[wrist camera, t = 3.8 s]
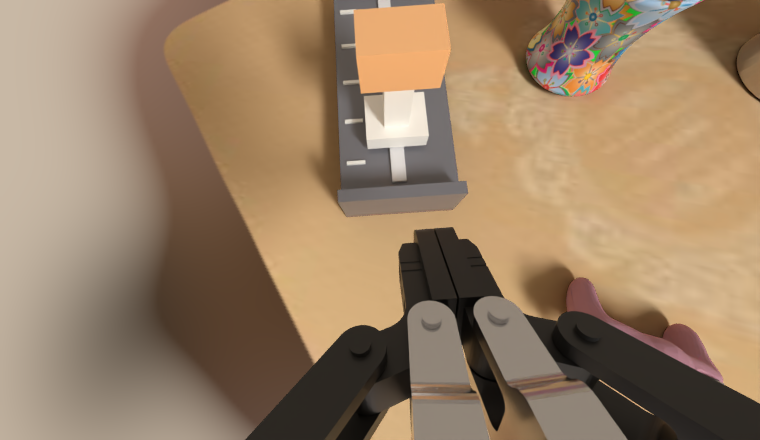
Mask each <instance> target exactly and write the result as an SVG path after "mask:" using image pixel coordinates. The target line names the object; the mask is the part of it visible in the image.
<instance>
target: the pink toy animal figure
mask: <svg viewBox="0 0 760 440" xmlns="http://www.w3.org/2000/svg"><path fill="white" fill-rule="evenodd" d="M566 305H567V312H569V311H578V312H584V313H587V314H590V315H592V316H595V317H597V318H599V319H601V320H602V321H604V322H606V323H608V324H610V325H612V326H614V327H616V328H618V329H619V330H621V331H623V332H625V333H627V334H629V335H631V336H633V337H635V338H636V339H638V340H640V341H642V342H644V343H646V344H648V345H650V346H652V347H653V348H655V349H657V350H659V351H661V352H663V353H665V354H667V355H669V356H670V357H672V358H674V359H676V360H678V361H680V362H682V363H684V364H686V365H688V366H689V367H691V368H693V369H695V370H697V371H699V372H701V373H703V374H705V375H706V376H708V377H710V378H712V379H714V380H716V381H718V382H720V383H722V384H723V385H724V383H723V378H722V376H721V374H720V372H719V371H718V369H717V368H716V367H715V365H714V364H713V363H712V361H711V359H710V358H709V356H708V354H707V351H706V349H705V347H704V345H703V343H702V341H701V340H700V338H699V336H698V335H697V334H696V333H695V332H694V331H693V330H692V329H691V328H689V327H687V326H686V325H682V324H673V325H671V326H669V327H667V329H666V330H665V332H664V334H663V338H659V337H656V336H652V335H648V334H644V333H641V332H639V331H637V330H635V329H633V328H631V327H629V326H628V325H625V324H623V323H621V322H619V321H617V320H615V319H612V318H611V317H609V316H608V315H607V314H606V313H605V311H604V310H603V308H602V306H601V304H600V302H599V299H598V296H597V293H596V290H595V288H594V286H593V284H592V283H591V282H590V281H589V280H588V279H586V278H576V279H575V280H573V281H572V282H571V283H570V285H569V288H568V291H567V296H566Z"/></svg>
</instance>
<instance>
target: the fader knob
mask: <svg viewBox="0 0 760 440" xmlns="http://www.w3.org/2000/svg"><path fill="white" fill-rule="evenodd" d="M354 28H355V45H356V59H357V67H358V75H359V82H360V90H361V94H362V93H376V92H383V95H372V96H364V105H365V122H366V138H367V146H368V149H377V148H391V147H405V146H420V145H426V144H427V140H428V137H429V132H428V123H427V115H426V106H425V97H424V92H414V90H418V89H432V88H440V87H441V83H442V80H443V76H444V72H445V69H446V65H447V62H448V58H449V55H450V51H451V46H450V39H449V32H448V25H447V18H446V11H445V4H444V3H441V4H427V5H413V6H399V7H386V8H372V9H358V10H354Z"/></svg>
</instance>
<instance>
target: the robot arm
mask: <svg viewBox="0 0 760 440" xmlns="http://www.w3.org/2000/svg"><path fill="white" fill-rule="evenodd" d="M737 68H738V73H739V75H740V77H741V79H742V81H743V83H744V84H745V85H746V87H747V88H748V89H749V90H750V91H751V92H752V93H753V94H754V95H755V96H756V97H757V98H759V99H760V33H759V34H757V35H756V36H754V37H753V38H751V39H750V40H748V41H747V42H746V43H745V44H744V45H743V46H742V47H741V49H740V50H739V53H738V56H737ZM399 278H400V288H401V295H402V303H403V311H404V315H403V317H402V318H401V320H400V321H399V322H398V323H396V324H395V325H393V326H391V327H389V328H386V329H384V330H381V331H379V330H377V329H376V328H374V327H371V326H367V325H359V326H355V327H352V328H350V329H348V330H346V331H345V332H344V333H343V334H342V335H341V336H340V337H339V338H338V339H337V340H336V341H335V342H334V343H333V345H332V346H331V347H330V348H329V349H328V350H327V351H326V352H325V353H324V354H323V355H322V357H321V358H320V359H319V360H318V361H317V362H316V363H315V364H314V365H313V366H312V368H311V369H310V370H309V371H308V372H307V373H306V374H305V375H304V376H303V377H302V378H301V380H300V381H299V382H298V383H297V384H296V385H295V386H294V387H293V388H292V389H291V391H290V392H289V393H288V394H287V395H286V396H285V397H284V398H283V399H282V400H281V401H280V402H279V404H278V405H277V406H276V407H275V408H274V409H273V410H272V411H271V412H270V414H268V416H267V417H266V418H265V419H264V420H263V421H262V422H261V423H260V424H259V425H258V426H257V428H256V429H255V430H254V431H253V432H252V433H251V434H250V435H249V436H248V437H247V439H246V440H370V439H371V437H372V435H373V434H374V432H375V431H376V429H377V427H378V426H379V424H380V422H381V421H382V419H383V418H384V416H385V414H386V413H387V411H388V409H389V408H390V407H392V406H394V405H396V404H398V403H400V402H402V401H404V400H406V399H408V398H410V420H411V440H760V404H759V403H757V402H756V401H754V400H752V399H750V398H748V397H746V396H744V395H742V394H740V393H739V392H737V391H735V390H733V389H731V388H729V387H727V386H725V385H723V384H722V383H720V382H718V381H716V380H714V379H712V378H710V377H708V376H706V375H705V374H703V373H701V372H699V371H697V370H695V369H693V368H691V367H689V366H688V365H686V364H684V363H682V362H680V361H678V360H676V359H674V358H672V357H670V356H669V355H667V354H665V353H663V352H661V351H659V350H657V349H655V348H653V347H652V346H650V345H648V344H646V343H644V342H642V341H640V340H638V339H636V338H635V337H633V336H631V335H629V334H627V333H625V332H623V331H621V330H619V329H618V328H616V327H614V326H612V325H610V324H608V323H606V322H604V321H602V320H601V319H599V318H597V317H595V316H592V315H590V314H587V313H584V312H578V311H569V312H565V313H563V314H562V315H561V316H560V317H559V318H558V320H557V321H553V320H548V319H543V318H538V317H533V316H529V315H526V314H524V313H522V311H521V310H520V309H519V308H518V307H517V306H516V305H515V304H514V303H512V302H511V301H509V300H507V299H505V298H504V297H503V295H502V293H501V291H500V289H499V288H498V286H497V284H496V282H495V280H494V278H493V276H492V274H491V272H490V271H489V269H488V267H487V266H486V263H485V261H484V259H483V258H482V255H481V253H480V252H479V250H478V248H477V246H475V245H474V244H473V243H472V242H471V241H469V240H468V239H458V237H457V235H456V233H455V230H454V228H453V227H449V228H435V229H422V230H414V243H405V244H402V246H401V248H400V251H399ZM462 346H463V349H464V352H465V358H464V354H463V349H462ZM599 379H600V380H602V381H603V382H605V383H606V384H608V385H609V386H611V387H612V388H614V389H615V390H617V391H618V392H620V393H621V394H623V395H625V396H626V397H628V398H629V399H631V400H632V401H634V402H635V403H637V404H638V405H640V406H641V407H643V408H644V409H646V410H648V411H649V412H651V413H652V414H654V415H652V414H650V413H648V412H646V411H645V410H643V409H641V408H640V407H638V406H637V405H635V404H634V403H632V402H631V401H629V400H628V399H626V398H625V397H623V396H622V395H620V394H619V393H617V392H616V391H614V390H613V389H611V388H609V387H608V386H606V385H605V384H603V383H602V382H600V381H599ZM488 433H489V434H488ZM489 436H490V439H489Z"/></svg>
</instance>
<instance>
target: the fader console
mask: <svg viewBox="0 0 760 440" xmlns="http://www.w3.org/2000/svg"><path fill="white" fill-rule="evenodd" d="M427 4H435V2H434V0H334V18H335V44H336V70H337V96H338V122H339V148H340V174H341V190H337V192H338V203H339V205H340V207H341V208H342V210H343V212H344V213H345V215H346V217H353V216H368V215H382V214H397V213H411V212H426V211H440V210H453V209H454V208H455V207H456V206H457V205H458V203H459V202H460V201H461V200H462V199H463V198H464V197H465V196H466V195H467V194H468V189H467V182H466V181H458V173H457V166H456V159H455V151H454V144H453V136H452V129H451V121H450V114H449V106H448V99H447V91H446V84H445V77H444V76H443V80H442V83H441V87H440V88H432V89H418V90H414V92H424V97H425V106H426V115H427V123H428V132H429V137H428V140H427V144H426V145H420V146H405V147H391V148H377V149H368V146H367V138H366V122H365V105H364V96H372V95H383V92H376V93H362V94H361V90H360V82H359V75H358V67H357V59H356V45H355V28H354V10H358V9H372V8H386V7H399V6H413V5H427Z"/></svg>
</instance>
